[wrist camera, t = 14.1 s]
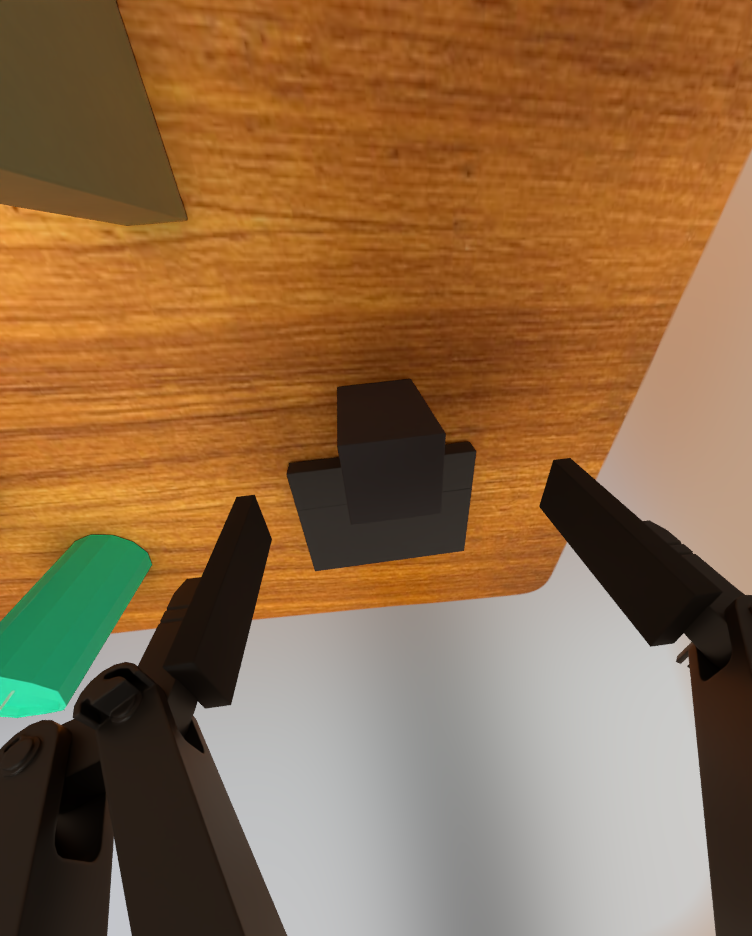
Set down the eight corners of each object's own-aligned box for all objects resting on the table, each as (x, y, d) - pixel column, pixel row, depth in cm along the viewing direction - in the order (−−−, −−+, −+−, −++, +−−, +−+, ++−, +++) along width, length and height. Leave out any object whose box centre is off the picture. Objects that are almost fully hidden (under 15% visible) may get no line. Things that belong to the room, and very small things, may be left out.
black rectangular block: (411, 378, 21) (446, 433, 14) (412, 474, 25) (439, 550, 19) (336, 386, 20) (337, 446, 14) (351, 482, 25) (357, 562, 18)
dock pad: (469, 441, 24) (476, 450, 23) (458, 539, 30) (464, 551, 29) (288, 462, 23) (286, 474, 22) (315, 558, 29) (314, 571, 28)
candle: (153, 542, 26) (42, 712, 16) (150, 584, 29) (54, 751, 19) (68, 527, 24) (-115, 708, 15) (74, 574, 27) (-76, 752, 17)
